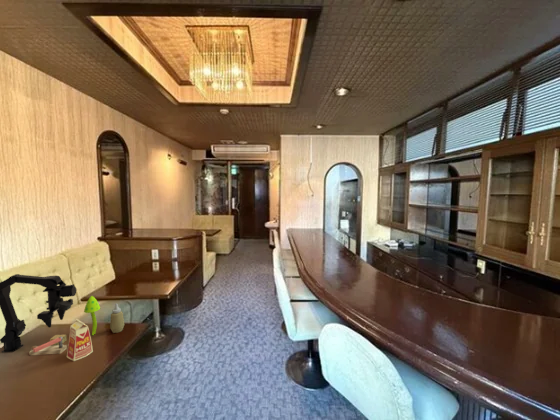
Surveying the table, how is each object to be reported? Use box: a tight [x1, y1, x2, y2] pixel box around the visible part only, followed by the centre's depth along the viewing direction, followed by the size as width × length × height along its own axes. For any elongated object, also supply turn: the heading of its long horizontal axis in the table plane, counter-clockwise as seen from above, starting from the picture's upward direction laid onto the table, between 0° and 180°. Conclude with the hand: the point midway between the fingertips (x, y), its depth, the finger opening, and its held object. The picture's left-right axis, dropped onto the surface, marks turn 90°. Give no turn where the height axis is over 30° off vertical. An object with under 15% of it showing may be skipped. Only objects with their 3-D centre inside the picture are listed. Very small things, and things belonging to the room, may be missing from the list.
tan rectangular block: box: [49, 334, 68, 346], centre depth 157 cm, size 6×4×4 cm
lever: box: [33, 337, 62, 352], centre depth 143 cm, size 13×2×2 cm, turn 159°
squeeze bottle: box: [109, 303, 125, 334], centre depth 170 cm, size 8×8×18 cm
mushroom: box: [83, 295, 101, 336], centre depth 165 cm, size 8×8×25 cm
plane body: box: [28, 341, 68, 356], centre depth 148 cm, size 16×5×6 cm, turn 95°
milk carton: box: [66, 318, 94, 362], centre depth 144 cm, size 9×9×20 cm
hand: (55, 323), depth 156 cm, fingers open, 9 cm apart
